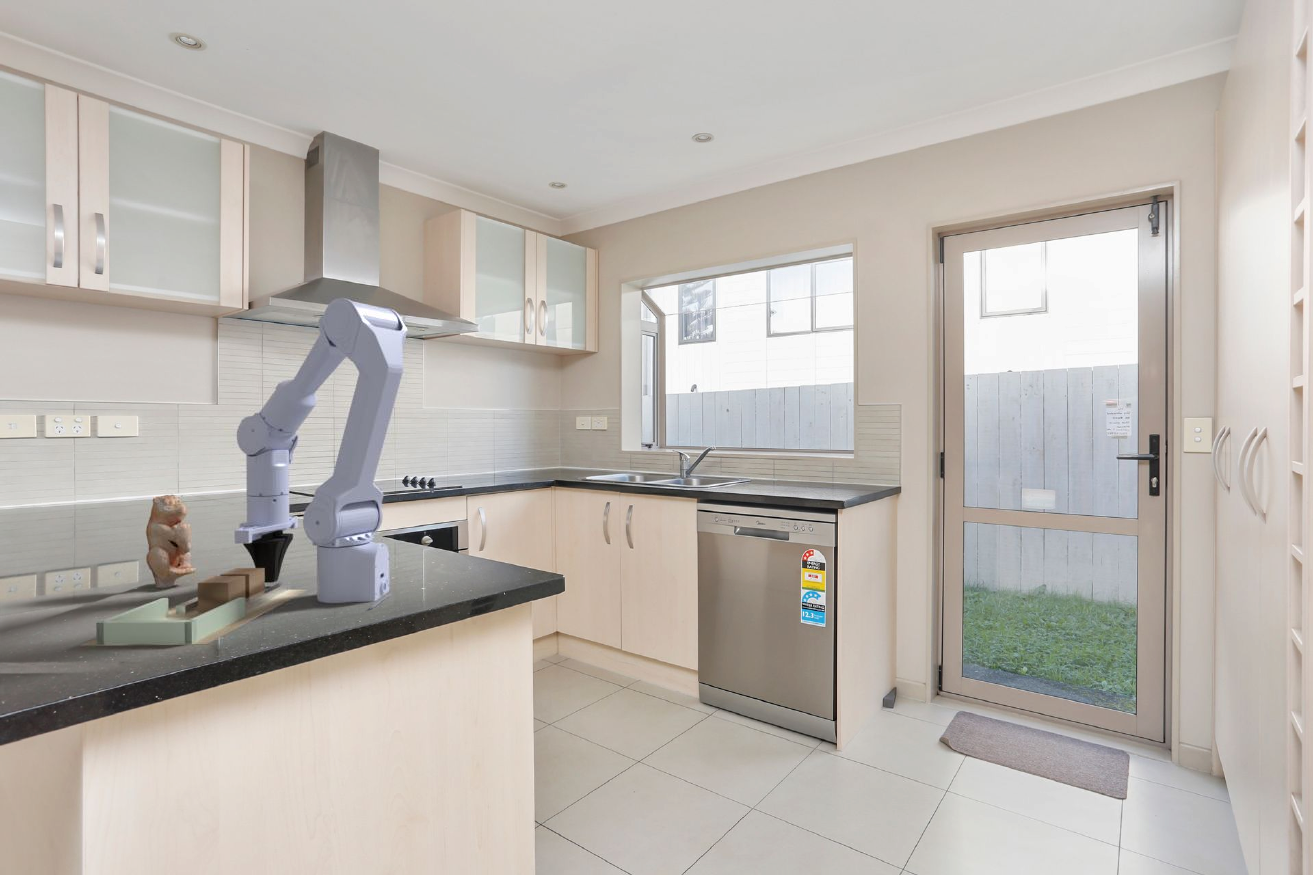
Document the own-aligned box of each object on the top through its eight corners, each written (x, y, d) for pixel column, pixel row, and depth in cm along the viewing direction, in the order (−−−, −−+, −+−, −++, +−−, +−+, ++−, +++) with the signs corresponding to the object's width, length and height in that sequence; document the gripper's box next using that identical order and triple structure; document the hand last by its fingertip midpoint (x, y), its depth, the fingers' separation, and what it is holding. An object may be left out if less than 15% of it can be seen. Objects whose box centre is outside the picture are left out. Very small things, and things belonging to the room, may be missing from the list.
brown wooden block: (264, 594, 98) (264, 567, 98) (249, 602, 94) (249, 574, 94) (237, 595, 98) (236, 568, 98) (220, 602, 94) (220, 574, 94)
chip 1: (245, 603, 93) (245, 575, 93) (228, 612, 89) (228, 582, 89) (216, 604, 93) (215, 575, 93) (197, 612, 89) (197, 582, 89)
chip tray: (245, 616, 87) (245, 597, 87) (191, 643, 76) (191, 621, 76) (162, 617, 87) (161, 598, 87) (96, 644, 76) (96, 622, 76)
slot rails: (290, 589, 101) (290, 581, 101) (241, 614, 88) (240, 605, 88) (233, 589, 101) (233, 582, 101) (176, 614, 88) (175, 605, 88)
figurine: (173, 596, 100) (173, 498, 100) (132, 594, 102) (131, 497, 102) (208, 587, 106) (208, 494, 106) (169, 584, 108) (168, 493, 108)
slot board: (308, 595, 101) (308, 589, 101) (206, 652, 76) (206, 643, 76) (214, 596, 101) (214, 590, 101) (79, 653, 76) (79, 645, 76)
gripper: (266, 489, 110) (267, 571, 110) (212, 500, 95) (213, 593, 96) (310, 489, 110) (310, 570, 110) (263, 500, 96) (263, 593, 96)
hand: (268, 581), depth 103 cm, fingers closed
